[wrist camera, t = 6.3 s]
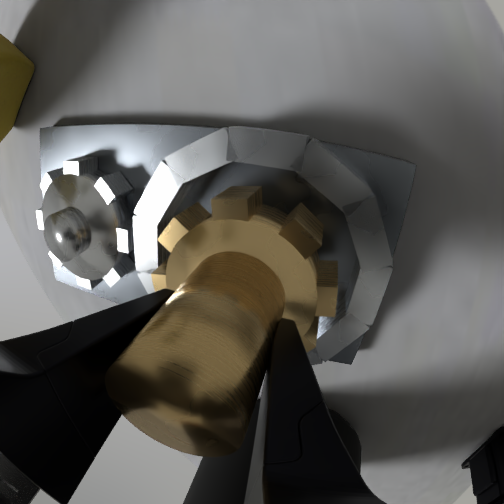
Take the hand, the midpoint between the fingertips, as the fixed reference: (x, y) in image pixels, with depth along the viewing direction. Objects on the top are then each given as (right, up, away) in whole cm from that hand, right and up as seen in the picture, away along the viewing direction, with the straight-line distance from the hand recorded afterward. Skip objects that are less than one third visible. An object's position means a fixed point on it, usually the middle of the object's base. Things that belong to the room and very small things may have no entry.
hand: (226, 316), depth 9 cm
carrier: (-3, +3, +6) cm, 7 cm away
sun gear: (-7, +4, +6) cm, 11 cm away
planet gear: (+1, +1, +3) cm, 3 cm away
